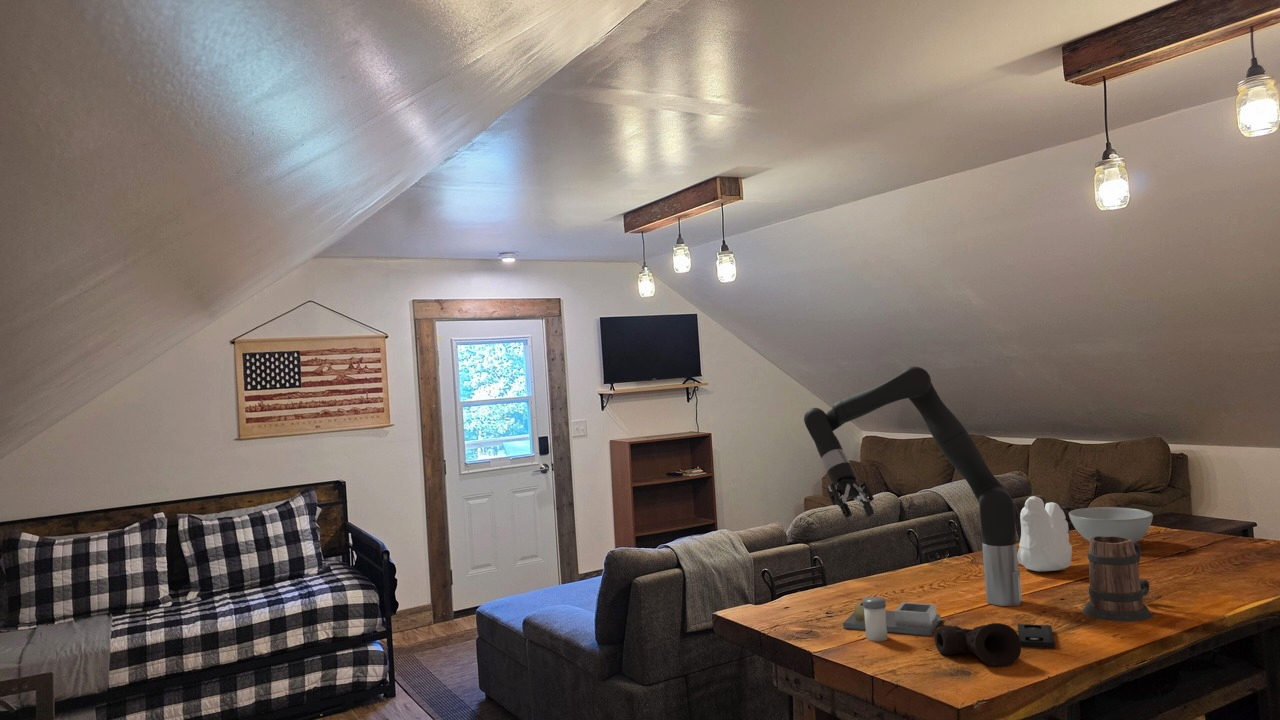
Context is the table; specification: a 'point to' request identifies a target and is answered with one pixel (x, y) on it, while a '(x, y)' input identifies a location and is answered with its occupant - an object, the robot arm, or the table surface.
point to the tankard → (1116, 581)
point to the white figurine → (1044, 537)
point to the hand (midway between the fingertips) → (860, 516)
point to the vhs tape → (1036, 636)
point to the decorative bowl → (1111, 522)
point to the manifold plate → (901, 619)
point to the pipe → (981, 642)
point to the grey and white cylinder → (875, 618)
